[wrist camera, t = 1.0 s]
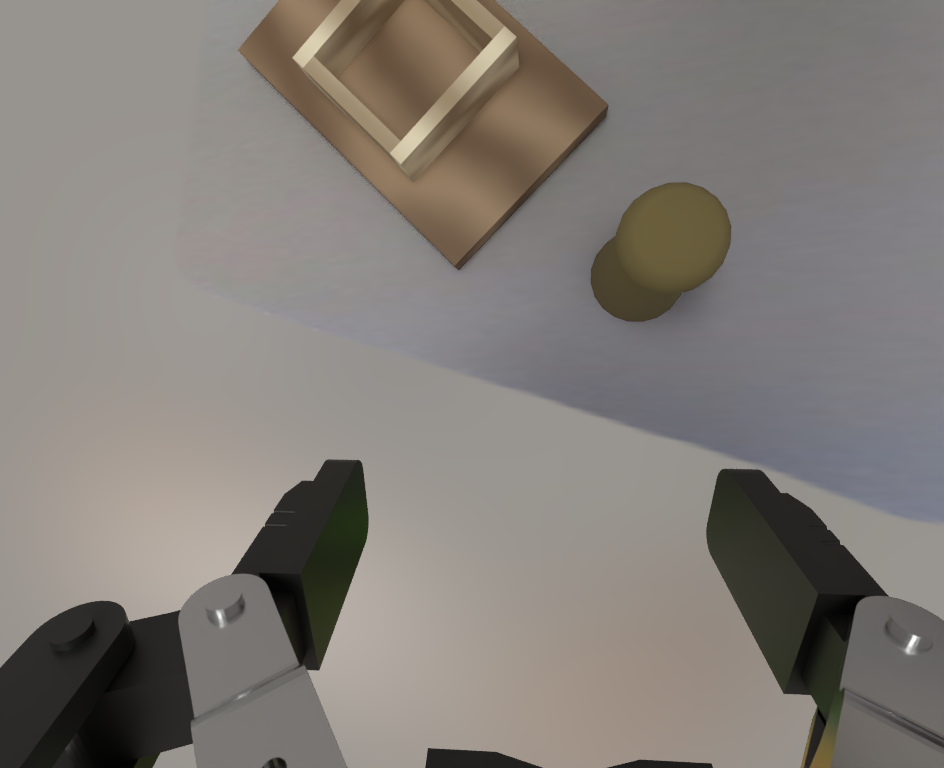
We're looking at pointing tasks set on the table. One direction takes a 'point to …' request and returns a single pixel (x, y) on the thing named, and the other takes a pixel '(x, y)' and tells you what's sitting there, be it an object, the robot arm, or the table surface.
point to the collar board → (430, 104)
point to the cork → (661, 251)
